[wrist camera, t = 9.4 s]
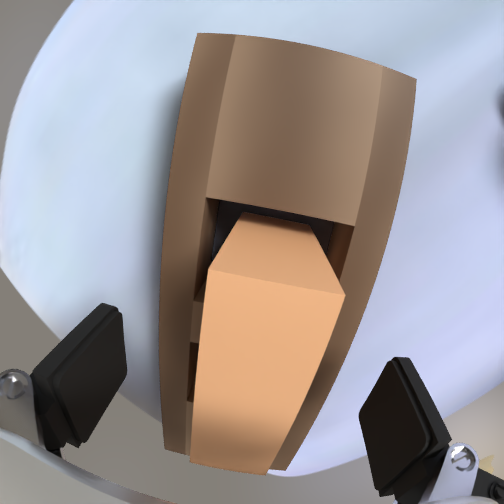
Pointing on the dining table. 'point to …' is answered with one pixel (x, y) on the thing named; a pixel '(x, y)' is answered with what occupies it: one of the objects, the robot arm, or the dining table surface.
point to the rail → (277, 189)
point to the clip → (260, 341)
